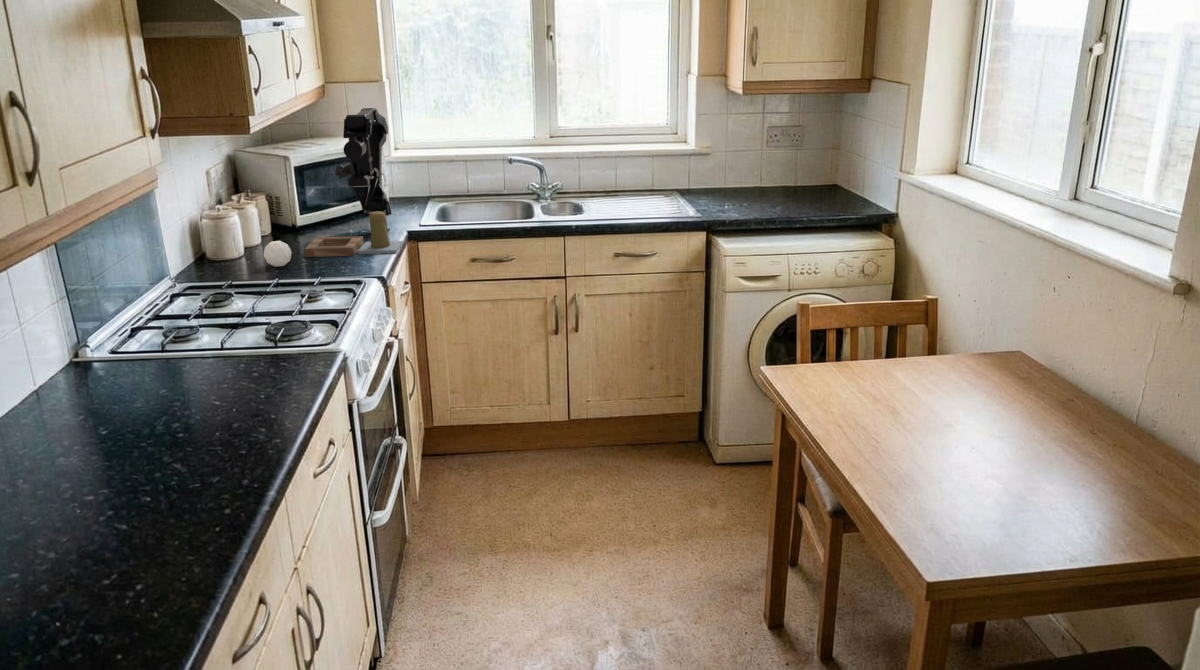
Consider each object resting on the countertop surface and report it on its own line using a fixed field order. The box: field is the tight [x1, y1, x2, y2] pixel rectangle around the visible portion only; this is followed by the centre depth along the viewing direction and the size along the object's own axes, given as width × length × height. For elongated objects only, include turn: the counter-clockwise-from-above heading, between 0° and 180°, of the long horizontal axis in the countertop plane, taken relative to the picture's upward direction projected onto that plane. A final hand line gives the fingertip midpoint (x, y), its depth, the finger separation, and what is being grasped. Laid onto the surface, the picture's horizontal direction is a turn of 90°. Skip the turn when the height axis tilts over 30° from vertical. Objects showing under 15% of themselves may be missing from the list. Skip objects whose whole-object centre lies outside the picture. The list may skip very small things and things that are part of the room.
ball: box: [263, 240, 292, 268], centre depth 255 cm, size 8×8×8 cm
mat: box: [357, 240, 404, 255], centre depth 273 cm, size 12×12×1 cm
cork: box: [368, 211, 390, 248], centre depth 271 cm, size 6×6×11 cm
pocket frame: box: [303, 235, 365, 258], centre depth 272 cm, size 15×15×2 cm
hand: (366, 203), depth 277 cm, fingers open, 9 cm apart
